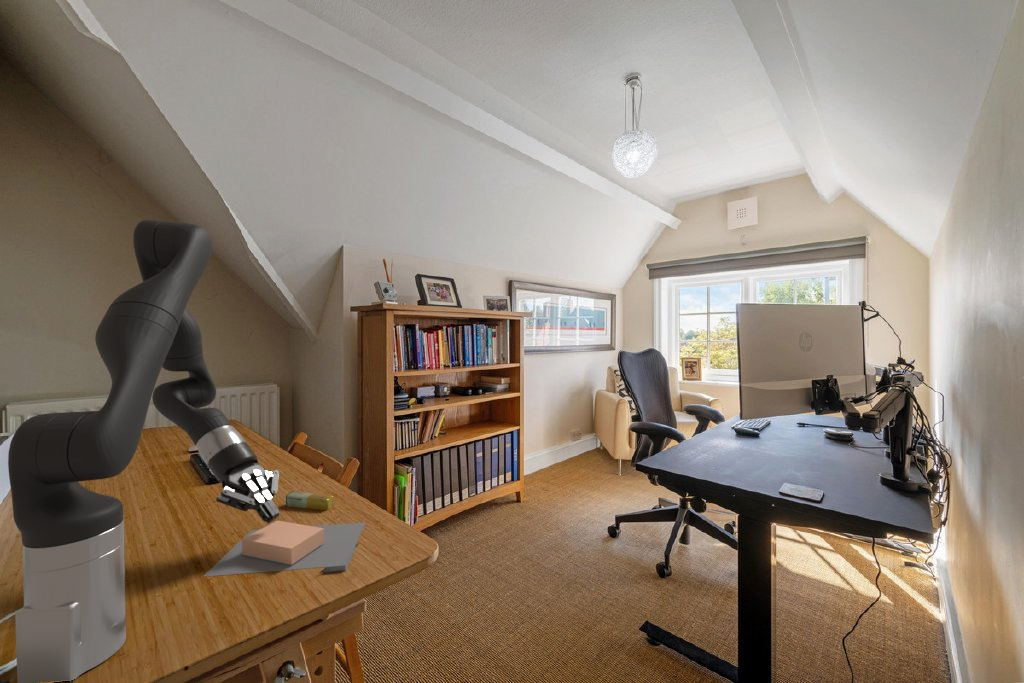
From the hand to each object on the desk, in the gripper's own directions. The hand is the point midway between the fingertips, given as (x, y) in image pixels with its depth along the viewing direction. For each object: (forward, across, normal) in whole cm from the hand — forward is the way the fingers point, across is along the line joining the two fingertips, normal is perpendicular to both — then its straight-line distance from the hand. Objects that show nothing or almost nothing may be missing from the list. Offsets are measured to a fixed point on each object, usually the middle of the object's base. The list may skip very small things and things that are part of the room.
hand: (274, 519), depth 80 cm
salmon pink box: (0, 0, +5) cm, 5 cm away
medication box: (-1, +18, +11) cm, 21 cm away
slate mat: (+7, +2, +3) cm, 8 cm away
